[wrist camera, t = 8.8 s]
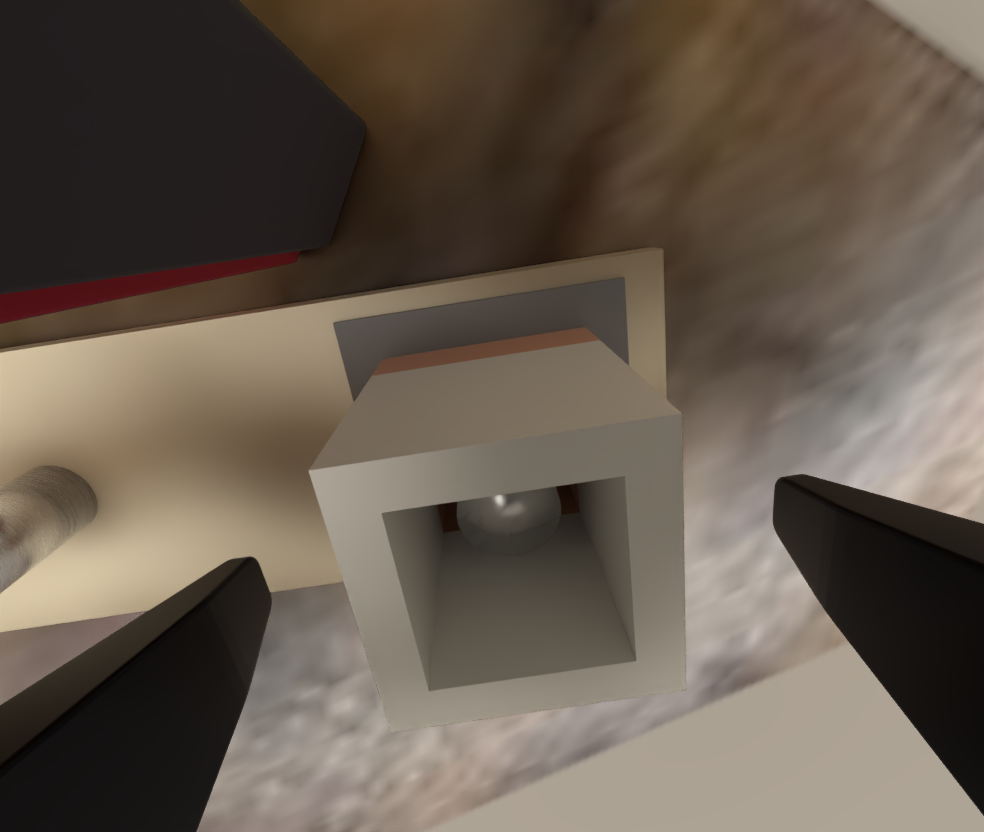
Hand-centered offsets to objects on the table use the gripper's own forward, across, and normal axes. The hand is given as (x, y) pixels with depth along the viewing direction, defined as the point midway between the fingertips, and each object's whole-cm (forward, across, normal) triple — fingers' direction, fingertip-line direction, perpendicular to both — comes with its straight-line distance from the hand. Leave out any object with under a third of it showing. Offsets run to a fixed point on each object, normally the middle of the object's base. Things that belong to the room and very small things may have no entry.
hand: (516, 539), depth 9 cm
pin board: (+6, +6, 0) cm, 9 cm away
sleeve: (+5, 0, 0) cm, 5 cm away
